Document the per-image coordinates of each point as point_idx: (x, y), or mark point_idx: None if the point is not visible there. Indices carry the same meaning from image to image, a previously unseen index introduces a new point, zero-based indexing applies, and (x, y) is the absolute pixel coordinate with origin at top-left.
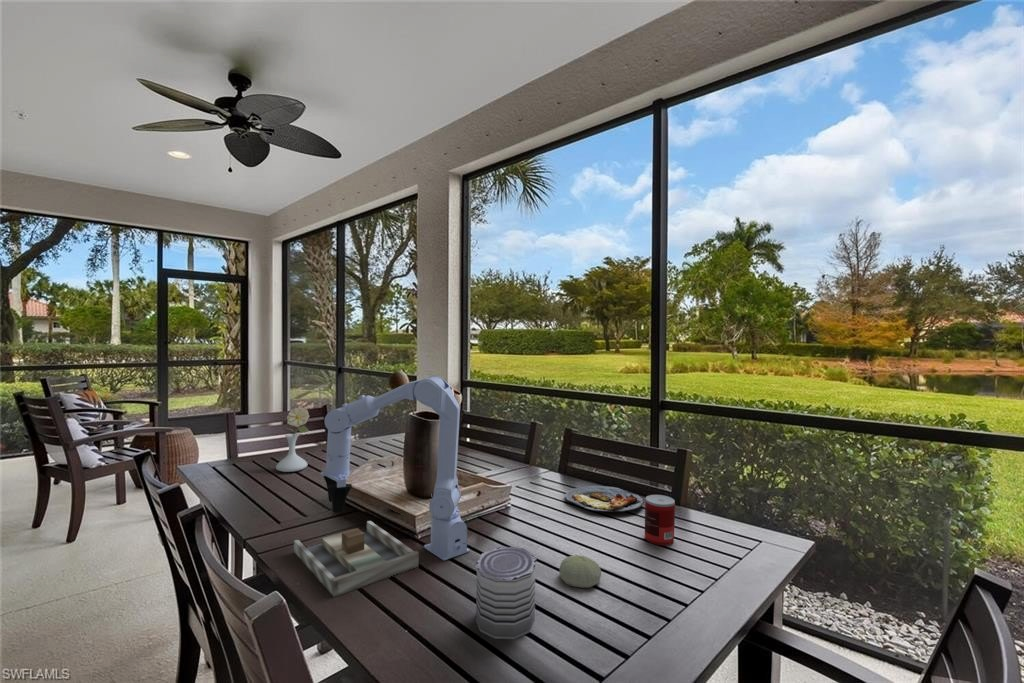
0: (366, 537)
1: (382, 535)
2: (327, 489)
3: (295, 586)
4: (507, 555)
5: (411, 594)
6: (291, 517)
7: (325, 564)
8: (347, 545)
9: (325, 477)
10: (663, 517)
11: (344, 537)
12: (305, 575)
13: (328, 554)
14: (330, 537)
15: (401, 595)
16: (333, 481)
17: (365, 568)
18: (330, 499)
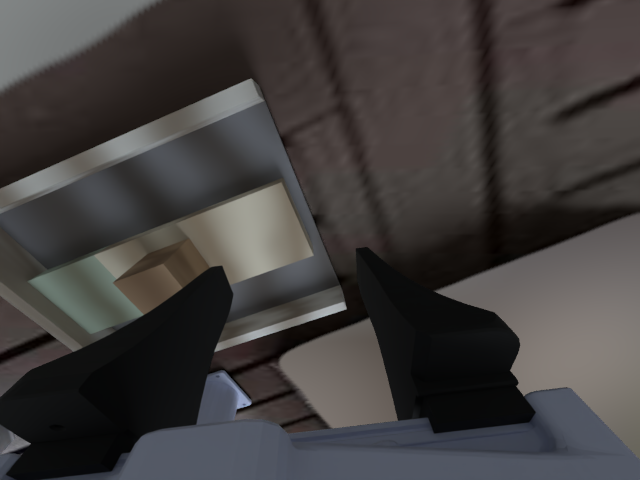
0: (298, 284)
1: (256, 325)
2: (396, 273)
3: (13, 104)
4: None
5: (23, 342)
6: (587, 58)
7: (147, 189)
8: (136, 264)
9: (416, 342)
10: None
11: (147, 266)
12: (90, 133)
13: (212, 196)
14: (278, 207)
15: (15, 328)
16: (394, 349)
17: (15, 298)
18: (357, 258)
